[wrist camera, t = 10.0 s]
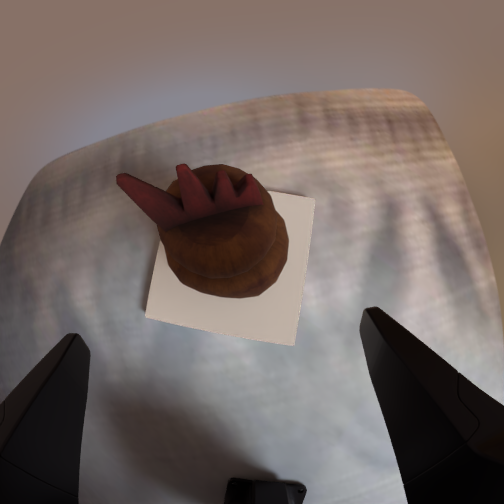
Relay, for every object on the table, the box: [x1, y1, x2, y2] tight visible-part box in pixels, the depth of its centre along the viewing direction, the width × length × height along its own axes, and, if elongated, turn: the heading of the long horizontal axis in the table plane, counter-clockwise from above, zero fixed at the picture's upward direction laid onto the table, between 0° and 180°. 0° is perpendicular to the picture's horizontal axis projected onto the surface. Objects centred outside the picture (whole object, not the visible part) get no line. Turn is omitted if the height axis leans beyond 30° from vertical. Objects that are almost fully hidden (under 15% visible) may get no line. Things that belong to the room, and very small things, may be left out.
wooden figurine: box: [116, 164, 289, 299], centre depth 14 cm, size 7×6×15 cm
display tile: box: [145, 178, 315, 346], centre depth 22 cm, size 11×11×1 cm
